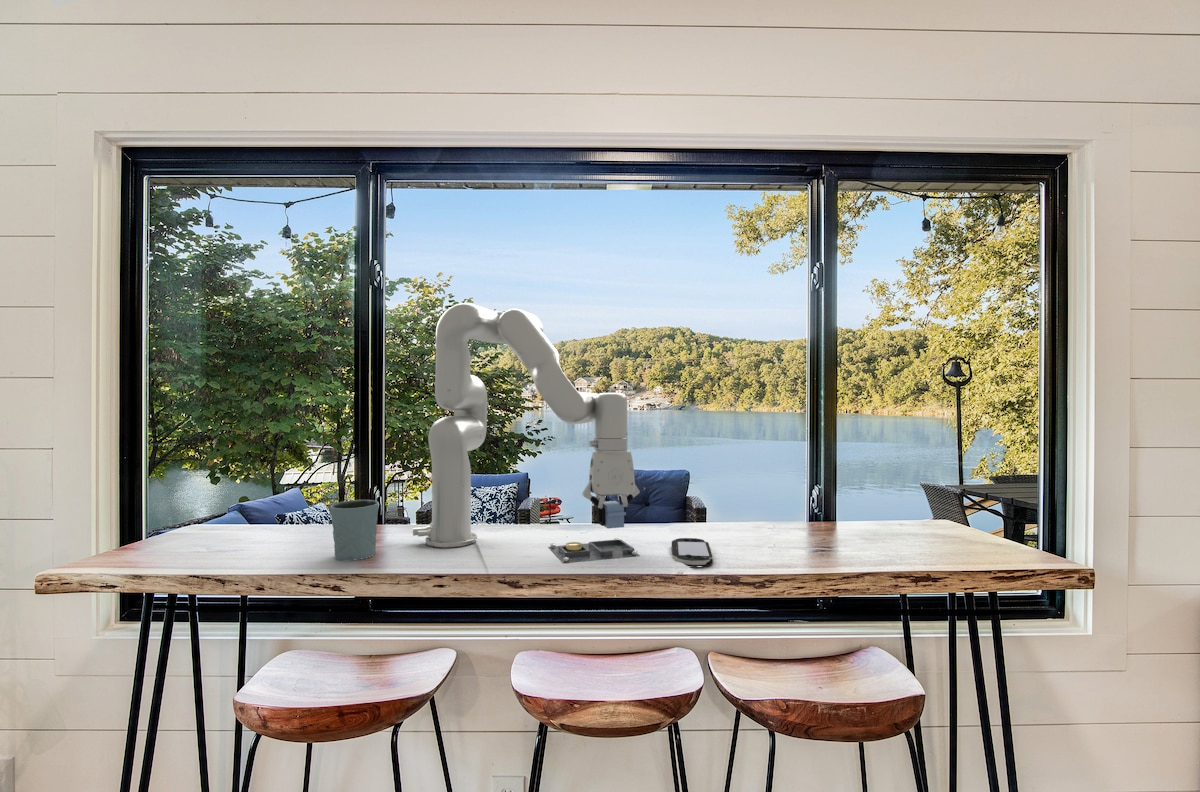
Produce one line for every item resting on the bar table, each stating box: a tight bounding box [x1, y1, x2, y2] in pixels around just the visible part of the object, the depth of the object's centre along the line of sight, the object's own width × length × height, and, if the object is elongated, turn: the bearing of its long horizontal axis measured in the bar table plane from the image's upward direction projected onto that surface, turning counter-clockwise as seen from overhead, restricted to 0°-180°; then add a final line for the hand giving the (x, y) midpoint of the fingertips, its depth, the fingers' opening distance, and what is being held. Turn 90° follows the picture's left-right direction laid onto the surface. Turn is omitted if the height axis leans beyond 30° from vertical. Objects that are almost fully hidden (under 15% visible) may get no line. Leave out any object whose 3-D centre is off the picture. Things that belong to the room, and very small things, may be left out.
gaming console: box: [671, 537, 714, 567], centre depth 131 cm, size 19×9×2 cm, turn 173°
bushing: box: [565, 541, 583, 552], centre depth 129 cm, size 4×4×2 cm
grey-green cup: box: [329, 499, 380, 561], centre depth 130 cm, size 10×10×12 cm
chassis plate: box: [547, 537, 641, 564], centre depth 131 cm, size 18×14×2 cm
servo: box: [604, 500, 627, 529], centre depth 132 cm, size 4×8×5 cm, turn 19°
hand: (611, 523), depth 132 cm, fingers closed on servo, 4 cm apart
